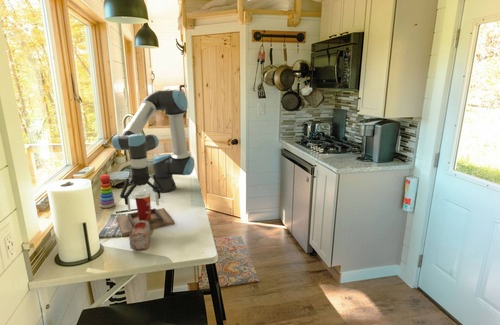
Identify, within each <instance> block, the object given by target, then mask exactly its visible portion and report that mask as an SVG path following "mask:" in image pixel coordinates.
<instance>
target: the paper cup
mask: <svg viewBox="0 0 500 325" xmlns="http://www.w3.org/2000/svg"><path fill="white" fill-rule="evenodd" d="M151 196H152V194H151V193H150V191H148V190H141V191H137V192H135V193H134V198H135V204H136V205H135V206H136V209H137V210H136V212H138V216H139V221H141V220H150V219H151V209H152V207H151Z"/></svg>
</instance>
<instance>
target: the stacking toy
mask: <svg viewBox="0 0 500 325" xmlns="http://www.w3.org/2000/svg"><path fill="white" fill-rule="evenodd" d="M110 180H111V177H110V175H109V174H102V175H101V176H100V178H99V181H100V182H101V183H100V199H99V200H100V201H99V207H100V208H101V209H109V208H113V207H114V206H115V205H116V201H115V199H114V197H115V196H114V193H113V189H112V186H111V182H110Z"/></svg>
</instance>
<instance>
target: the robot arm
mask: <svg viewBox="0 0 500 325" xmlns="http://www.w3.org/2000/svg"><path fill="white" fill-rule="evenodd" d="M188 105H189V104H188V98H187V95H186V94H185V93H184V91H182V90H176V89H175V90H172V89H171V90H155V91H153V92H151V93H150V94H148V95H147V96H146V97H145V98H144V99H143V100H142V101H141V102H140V104H139V109H138V110H137V111H136V113H135V114H134V116H133V117H132V118H131V120H130V121H129V123H128V124H126V127H125V128H124V129H123V132H122V133H121V134H115V135H113V137H112V139H111V145H112V147H113V148H114V149H115V150H121V151H129V158H130V167H131V177H125V179H124V180H125V182H124V185H123V188H122V190H121V192H120V195H119V197H120V198H121V199H124V204H125V205H126V206H127V209H128V210H127V211H128V212H129V213H131V212H132V211H131V202H130V195H132V192H133V191H134V190H135V188H137V186H138V187H140V186H146V185H148V187H151V188H152V192H154V193H155V204H156V206H157V207H159V206H160V199H161V194H162V193H168V192H169V193H170V192H172V191H175V190H176V189H177V185H176V182H175V180H174V178H173V176H174V175H176V176H190V175H192V173H193V170H194V169H195V158H194V157H192V156H191V153H190V152H189V151H188V146H187V137H186V130H185V122H184V121H185V120H184V115H185V113H186V111H187V109H188ZM159 111H164V112H165V113H164V114H165V115H166V116H167V117H168V122H169V129H170V130H169V131H170V135H171V137H170V138H171V144H172V151H173V153H172V154H170V153H164V154H159V155H156V156H154V157H153V159H152V166H153V173H152V174H149V166H148V154H147V152H149V151H153V150H155V149H156V148H157V147H158V146H159V144H160V143H159V142H160V141H159V138H158V137H157V135H155V134H143V133H142V132H143V130H144V128H145V126H146V125H147V124H148V122H149V120H150V119H151V117H152V116H153V115H155V114H156V112H159ZM150 179H152V180H153V183H152V182H150ZM131 181H132V184H131V186H130V187H129V184H130V183H131ZM128 187H129V189H128Z"/></svg>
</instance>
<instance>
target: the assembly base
mask: <svg viewBox="0 0 500 325" xmlns="http://www.w3.org/2000/svg"><path fill="white" fill-rule="evenodd" d="M116 221H117V224H118V227H119V229H121V230H120V232H121V235H122V237H125V236H128V235H129V234H130V230H131V233H132V230H133V227H134V225H133V224H135V222H136V221H139V216H138V211H136V212H135V211H134V212H129V213H127V215H123V216H119V217H116ZM145 221H149V224H150V230H155V229H159V228H164V227H167V226H172V225H173V226H174V225H175V224H176V223H175V220H174V219H173V218H172V216H171V215H170V214H169V212H168V211H167V210H166V209H165V208H164V207H163V208H156V207H155V208H151V219H150V220H145Z"/></svg>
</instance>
